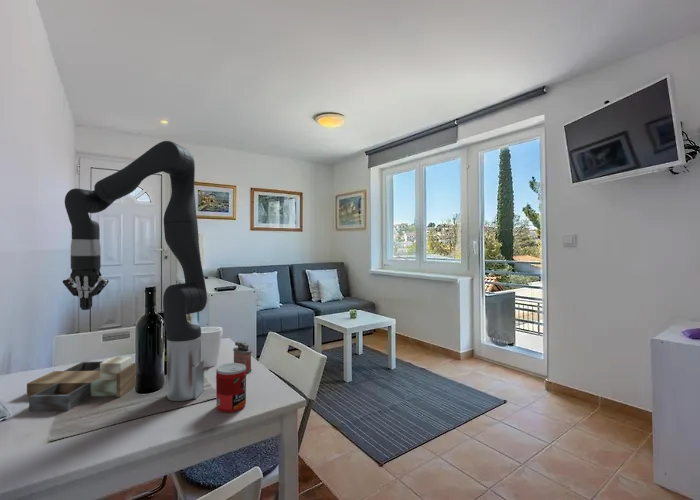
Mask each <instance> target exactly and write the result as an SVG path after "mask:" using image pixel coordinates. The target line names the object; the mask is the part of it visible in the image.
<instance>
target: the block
mask: <svg viewBox="0 0 700 500" xmlns="http://www.w3.org/2000/svg"><path fill="white" fill-rule="evenodd" d="M132 364H133V357H132V356H112V357H110V358H108V359H106V360H104V362H102V363H100V380H117V373H118V372H120V371H122V370H123V369H125V368H127V367H128V366H130V365H132Z"/></svg>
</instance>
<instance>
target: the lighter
mask: <svg viewBox="0 0 700 500" xmlns="http://www.w3.org/2000/svg"><path fill="white" fill-rule="evenodd" d="M234 345H235V346H236V347H233V349H232V350H233V363H241V364H244V365H245V366H246V374H250V373H249V372H251V371H253V369H252V353H253V352H252V350H251V349H250V348H249V344H248V343H247V342H246V341H243V342H241V341H236V342H235V343H234ZM251 373H252V372H251Z"/></svg>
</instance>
